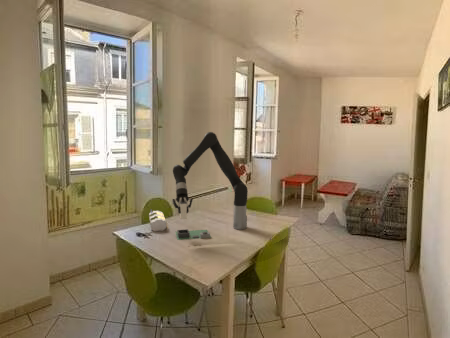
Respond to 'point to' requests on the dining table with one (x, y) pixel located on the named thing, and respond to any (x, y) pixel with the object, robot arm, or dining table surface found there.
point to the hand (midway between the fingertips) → (183, 212)
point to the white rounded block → (157, 221)
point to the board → (192, 234)
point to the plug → (183, 210)
